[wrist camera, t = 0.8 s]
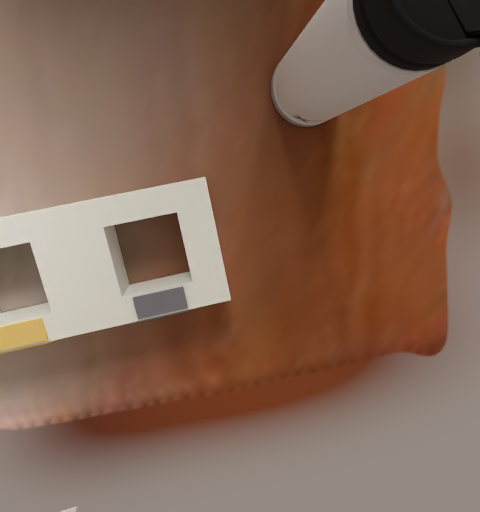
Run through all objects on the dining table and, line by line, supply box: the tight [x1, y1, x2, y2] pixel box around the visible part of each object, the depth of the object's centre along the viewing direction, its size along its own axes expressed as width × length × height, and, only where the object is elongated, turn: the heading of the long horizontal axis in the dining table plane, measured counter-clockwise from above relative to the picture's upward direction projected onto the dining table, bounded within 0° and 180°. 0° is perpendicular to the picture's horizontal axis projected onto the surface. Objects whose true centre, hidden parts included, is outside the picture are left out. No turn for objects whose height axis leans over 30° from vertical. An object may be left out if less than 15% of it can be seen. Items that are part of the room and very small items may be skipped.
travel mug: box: [271, 0, 480, 127], centre depth 23 cm, size 6×7×20 cm
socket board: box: [0, 177, 231, 354], centre depth 31 cm, size 10×22×4 cm, turn 101°
